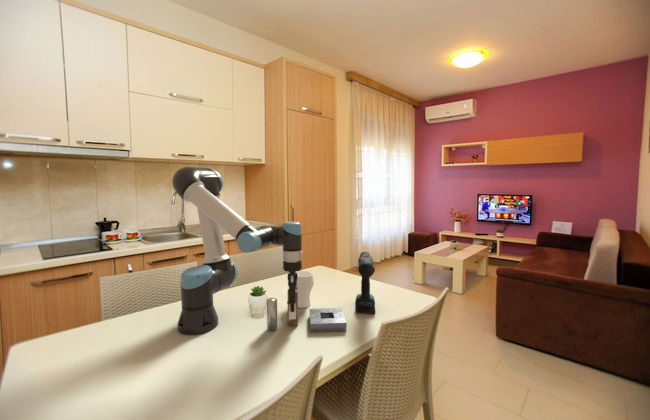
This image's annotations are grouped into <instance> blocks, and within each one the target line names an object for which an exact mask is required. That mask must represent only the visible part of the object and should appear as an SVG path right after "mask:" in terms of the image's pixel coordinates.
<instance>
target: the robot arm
mask: <svg viewBox="0 0 650 420" xmlns="http://www.w3.org/2000/svg"><path fill="white" fill-rule="evenodd" d="M223 179H224V178H223V177H222V176H221V174H220V173H219V172H218V171H217V170H215V169H213V168H210V167H198V166H196V167H195V166H184V167H181V168H179V169H177V171H175V173H173V176H172V180H171V181H172V182H171V184H172V185H171V186H172V187H173V190H174V191H175V193H176V194H177V195H178V197H180V198H181V199H182V200H183V201H185V202H187V203H191V204H193V205H194V207H196V208H197V213H198V214H197V215H198V220H199V227H200V233H201V234H200V235H201V239H202V244H203V249H204V250H203V251H204V256H205V257H204V259H203V260H202V264H201V265H199V264H198V265H196V266H191V267H188V268H186V269H185V270H184V271H183V272H181V275H180V281H179V283H180V284H179V286H180V297H181V299H180V300H181V311H180V314H179V317H178V318H179V319H178V320H177V321H178V322H177V332H178V333H180V334H181V335H187V336H189V335H191V336H192V335H201V334H205V333H207V332H210V331H212V330H214V329H215V328H216V327H218V325H219V316H218V313H217V311H216V308H215V305H214V294H216V293H219V292H220V291H222V290H224V289H227V288H229V287H230V286H231V285H232V284H233V283H235V281H236V280H237V277H238V266H237V265H236V263H234V261H232V260H231V256H230V255H229V254H227V253H226V247H225V240H224V235H223V230H224V231H225V232H226V233H228V234H229V235H230V236H231V237H233V238H234V239H235V240H236V244H237V247H238V249H239V251H241V252H242V253H246V254H250V253H253V252H257V251H258V250H261V249H263V248H265V247H268V246H270V245H271V246H273V245H274V246H275V245H276V246H282V260H283V261H282V270H283V271H284V272H287V286H288V289H289V301H288V300H287V302H286V304H287V305H288V304H289V319H296V301H295V289H298V287H296V286H297V273H296V272H299V271H302V268H303V264H302V263H303V262H302V255H304V252H303V251H302V241H303V240H302V238H303V236H302V235H303V233H302V224H301V223H300V222H299V221H284V222H283V223H282V226H277V225H276V226H274V225H259V226H256V228H255V227H254V226H252V225H251V224H250V223H248V222H247V221H246V220H245V219H244V218H242V217H241V216H240V215H239V214H238V213H236V212H235V211H234V210H233V209H232V208H231V207H229V206H228V205H226V203H224V202H223V201H222V200H220V198H221V195H220V194H221V193H220V192H222V189H223V188H224V181H223ZM222 229H223V230H222Z"/></svg>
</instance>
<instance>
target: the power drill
mask: <svg viewBox="0 0 650 420" xmlns="http://www.w3.org/2000/svg"><path fill="white" fill-rule="evenodd" d="M357 262H358V266H357V269H358V271H357V272H358V274H359V275H360V276H361V280H360V281H361V282H360V284H361V286H360V292H361V293H358V294H356V296H355V313H356V314H361V315H362V314H365V315H375V314H376V301H375V296H374V295H373V294H371V282H370V278H371V277H372V276H373V275H374V273H375V272H376V271H375V270H376V268H375V267H374V259H373V257H372V256H371V255H370V253H369V252H368V251H362V252H361V253H360V255H359V258H358V260H357Z"/></svg>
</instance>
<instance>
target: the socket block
mask: <svg viewBox="0 0 650 420" xmlns="http://www.w3.org/2000/svg"><path fill="white" fill-rule="evenodd" d="M345 316H346V315H345V313H344V311H343V307H329V308H327V307H326V308H309V328H310V333H311V334H313V333H314V334H315V333H316V334H317V333H335V332H336V333H337V332H343V333H344V332H347V330H348V329H347V320H346V317H345Z"/></svg>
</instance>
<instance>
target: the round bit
mask: <svg viewBox="0 0 650 420" xmlns="http://www.w3.org/2000/svg"><path fill="white" fill-rule="evenodd" d="M266 330H267V332H271V333H272V332H275V331H277V330H278V298H277V297H269V298H267V299H266Z"/></svg>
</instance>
